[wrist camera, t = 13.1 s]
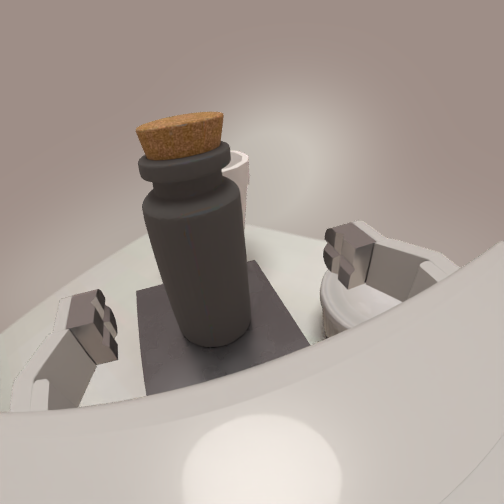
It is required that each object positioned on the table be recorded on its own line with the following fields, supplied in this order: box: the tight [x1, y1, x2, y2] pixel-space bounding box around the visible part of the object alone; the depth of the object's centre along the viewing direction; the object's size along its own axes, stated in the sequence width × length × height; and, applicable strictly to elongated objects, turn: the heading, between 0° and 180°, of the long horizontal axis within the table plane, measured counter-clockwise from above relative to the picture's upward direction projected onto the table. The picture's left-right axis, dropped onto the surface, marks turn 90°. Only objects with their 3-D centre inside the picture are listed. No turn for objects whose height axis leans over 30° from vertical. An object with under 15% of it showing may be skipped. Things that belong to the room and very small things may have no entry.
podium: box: [136, 260, 310, 396], centre depth 23 cm, size 12×12×4 cm
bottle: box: [136, 112, 251, 347], centre depth 17 cm, size 6×6×15 cm
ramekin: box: [320, 269, 402, 338], centre depth 23 cm, size 11×11×5 cm
